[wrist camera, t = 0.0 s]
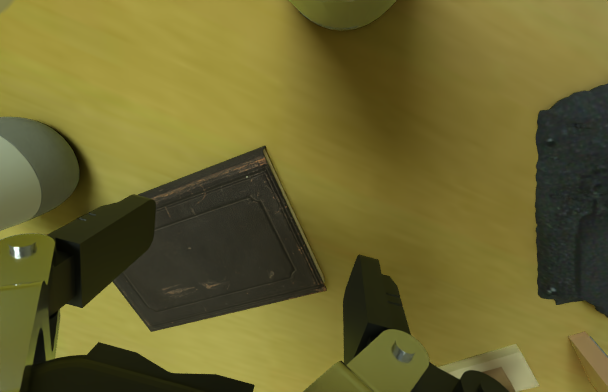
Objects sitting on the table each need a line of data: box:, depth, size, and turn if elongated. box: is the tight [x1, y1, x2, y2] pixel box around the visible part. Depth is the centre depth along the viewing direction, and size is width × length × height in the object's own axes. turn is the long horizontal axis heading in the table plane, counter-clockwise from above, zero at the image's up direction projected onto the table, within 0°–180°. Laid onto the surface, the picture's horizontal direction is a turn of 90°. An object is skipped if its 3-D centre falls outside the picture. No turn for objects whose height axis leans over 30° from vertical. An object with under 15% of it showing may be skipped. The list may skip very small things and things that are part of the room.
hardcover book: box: [77, 146, 327, 332], centre depth 33 cm, size 16×23×2 cm
